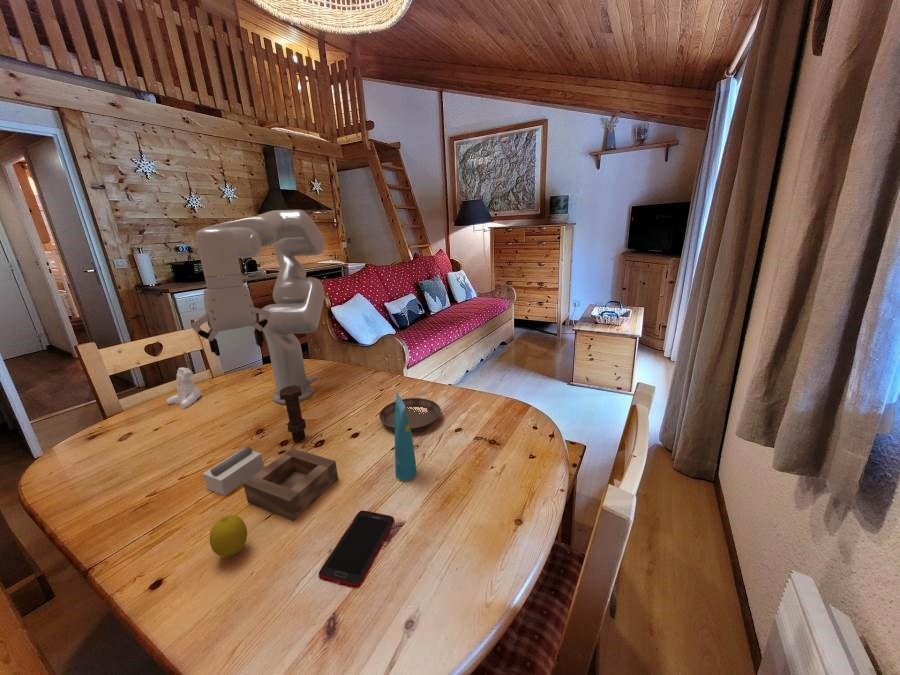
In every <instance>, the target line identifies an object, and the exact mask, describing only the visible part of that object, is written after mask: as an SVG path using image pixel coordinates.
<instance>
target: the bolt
mask: <svg viewBox="0 0 900 675" xmlns="http://www.w3.org/2000/svg"><path fill="white" fill-rule="evenodd" d="M301 395H302V392H301V387H300V386H296V385H294V386H288V387H285V388H283V389H281V390H280V399H281V400H285V403H286V404H285V405H286V407H285V408H286V410H287V417H288V422H287V430H288V433H291V437H292V441H293V442H294V443H298V444H299V443H302V442H303V441H304V440H305V438H306V432H305V429H306V428H307V424H306V419H305V418H303V416H302V411H301V404H300V402H299V396H301Z"/></svg>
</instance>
